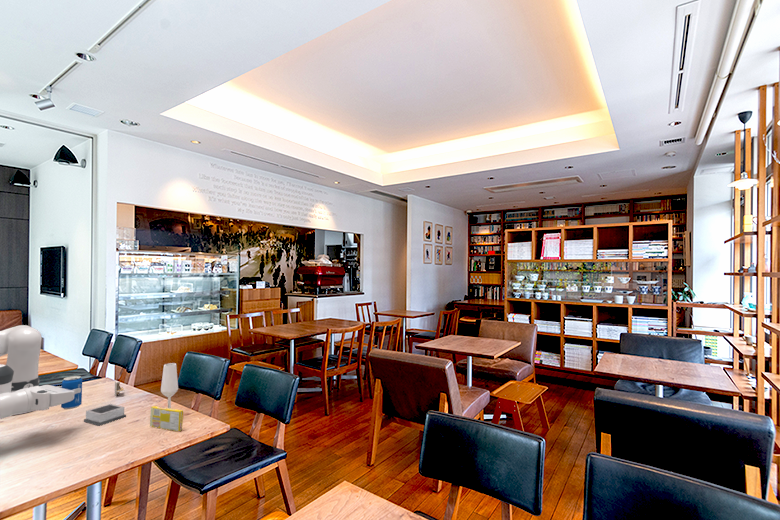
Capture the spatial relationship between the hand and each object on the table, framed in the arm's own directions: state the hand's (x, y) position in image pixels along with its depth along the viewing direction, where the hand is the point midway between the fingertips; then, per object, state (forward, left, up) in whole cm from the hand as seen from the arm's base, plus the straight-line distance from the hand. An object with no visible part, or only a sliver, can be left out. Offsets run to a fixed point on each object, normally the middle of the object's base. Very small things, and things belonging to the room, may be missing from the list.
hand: (74, 388), depth 158 cm
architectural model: (-29, +34, -17) cm, 48 cm away
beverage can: (0, -1, -8) cm, 8 cm away
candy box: (+33, +17, -17) cm, 41 cm away
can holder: (0, +12, -17) cm, 21 cm away
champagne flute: (+25, +24, -17) cm, 39 cm away
